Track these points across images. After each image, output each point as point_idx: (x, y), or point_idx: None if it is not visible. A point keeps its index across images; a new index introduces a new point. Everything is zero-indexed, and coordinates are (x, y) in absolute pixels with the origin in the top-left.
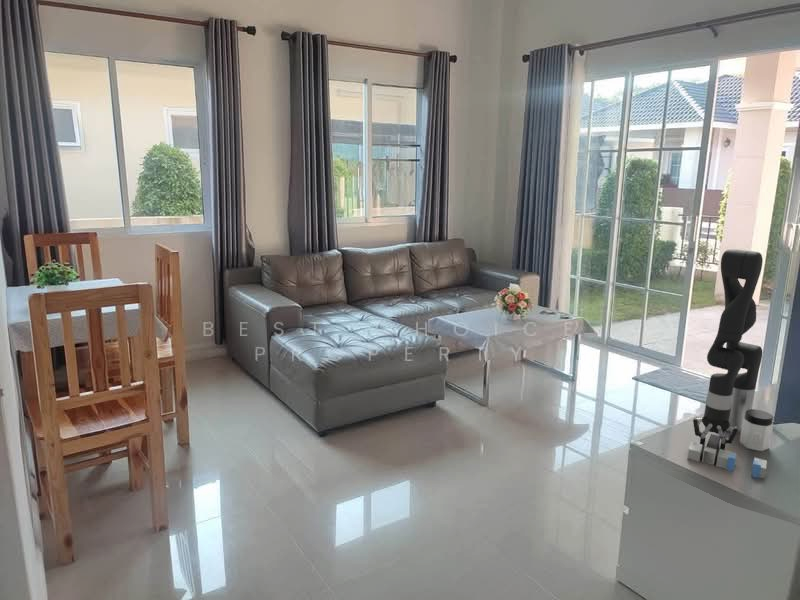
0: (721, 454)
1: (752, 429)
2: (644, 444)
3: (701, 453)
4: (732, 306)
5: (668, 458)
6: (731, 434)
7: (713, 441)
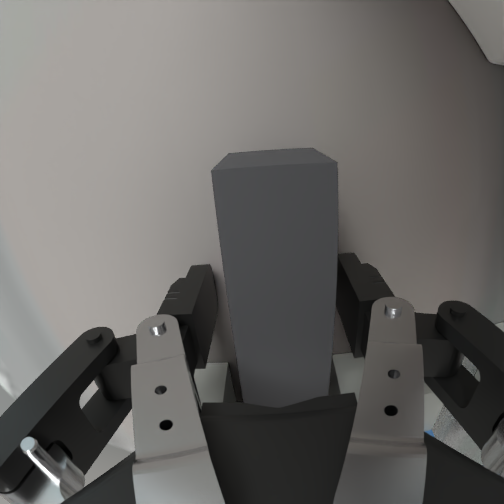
0: None
1: None
2: (14, 386)
3: (229, 385)
4: None
5: (132, 449)
6: (476, 441)
7: (285, 357)
